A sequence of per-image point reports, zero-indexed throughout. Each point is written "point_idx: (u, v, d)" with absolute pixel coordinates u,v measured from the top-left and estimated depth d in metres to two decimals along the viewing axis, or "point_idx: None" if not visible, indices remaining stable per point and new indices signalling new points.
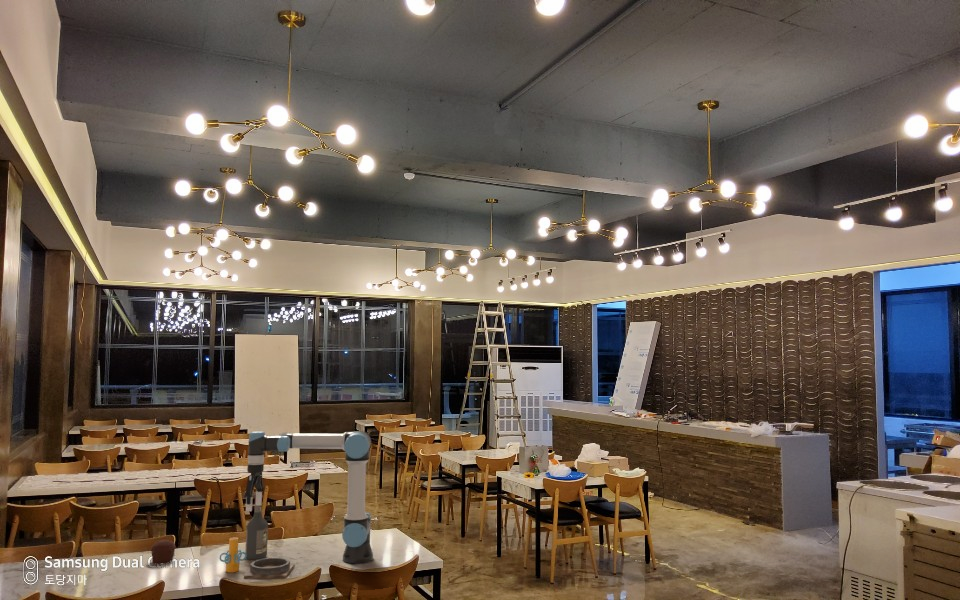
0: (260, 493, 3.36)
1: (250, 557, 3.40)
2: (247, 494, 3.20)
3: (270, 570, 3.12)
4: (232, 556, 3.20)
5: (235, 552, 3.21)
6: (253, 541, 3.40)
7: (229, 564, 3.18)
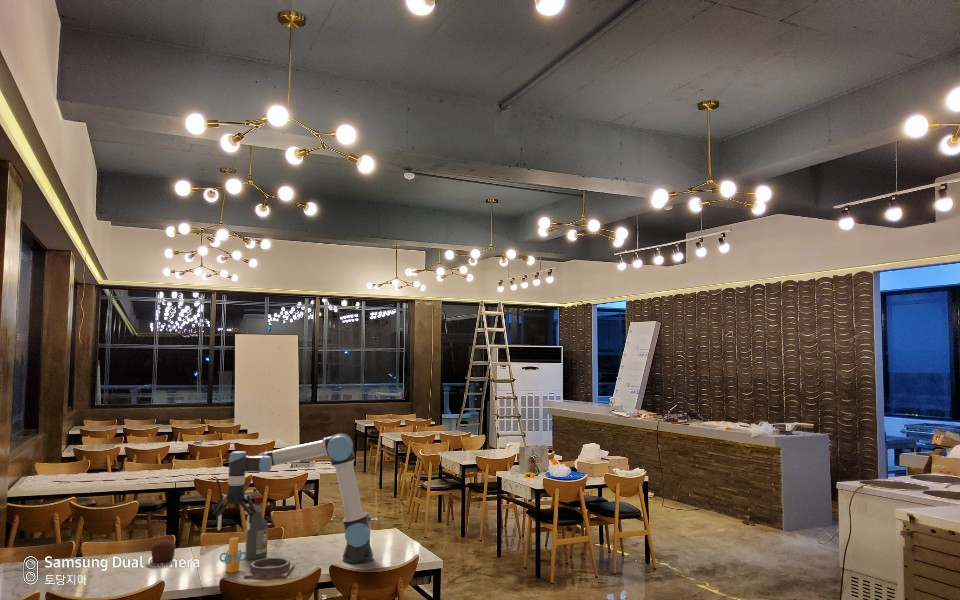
0: None
1: (250, 557, 3.40)
2: None
3: (270, 570, 3.12)
4: (232, 556, 3.20)
5: (235, 552, 3.21)
6: (253, 541, 3.40)
7: (229, 564, 3.18)
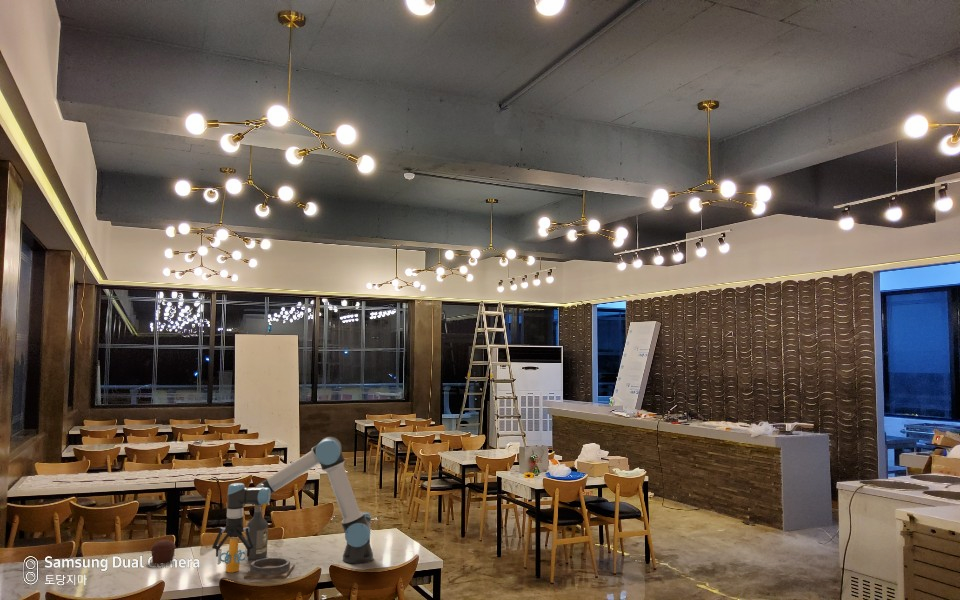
0: None
1: (250, 557, 3.40)
2: (213, 545, 3.21)
3: (270, 570, 3.12)
4: (232, 556, 3.20)
5: (235, 552, 3.21)
6: (253, 541, 3.40)
7: (229, 564, 3.18)
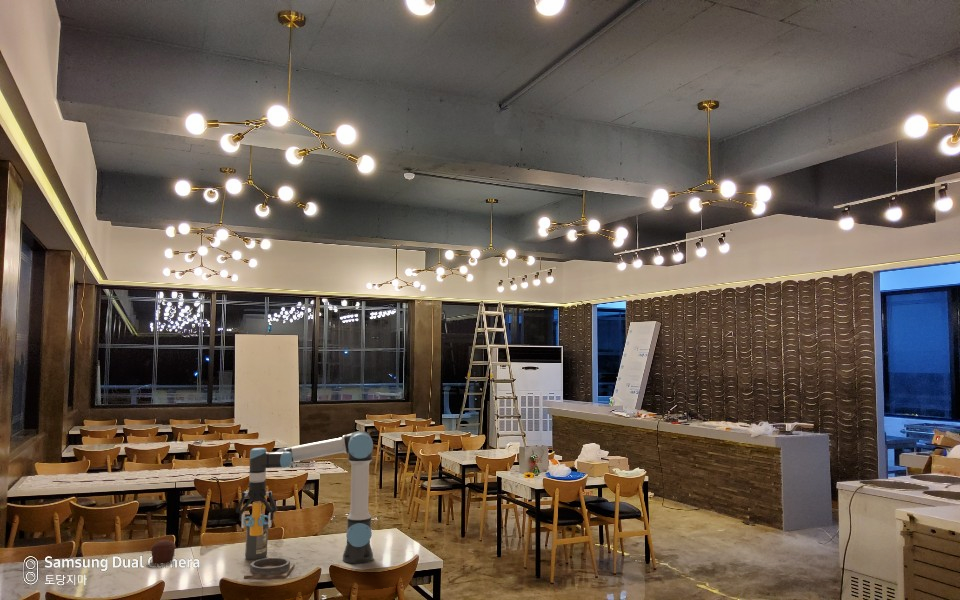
0: None
1: (250, 557, 3.40)
2: None
3: (270, 570, 3.12)
4: (255, 520, 3.21)
5: (258, 516, 3.22)
6: (253, 541, 3.40)
7: (253, 527, 3.20)
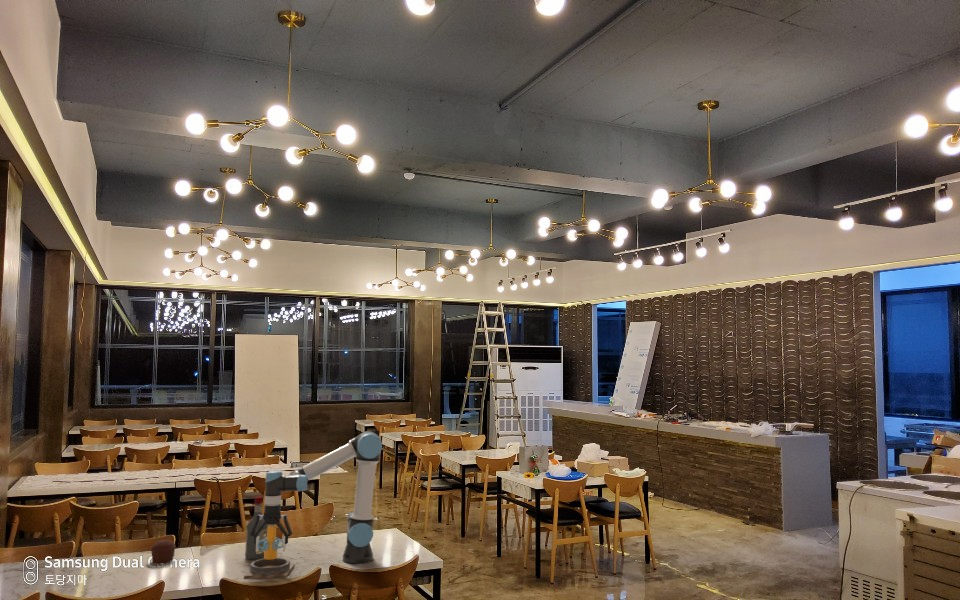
0: None
1: (250, 557, 3.40)
2: (251, 532, 3.21)
3: (270, 570, 3.12)
4: (270, 543, 3.19)
5: (273, 539, 3.20)
6: (253, 541, 3.40)
7: (267, 551, 3.18)
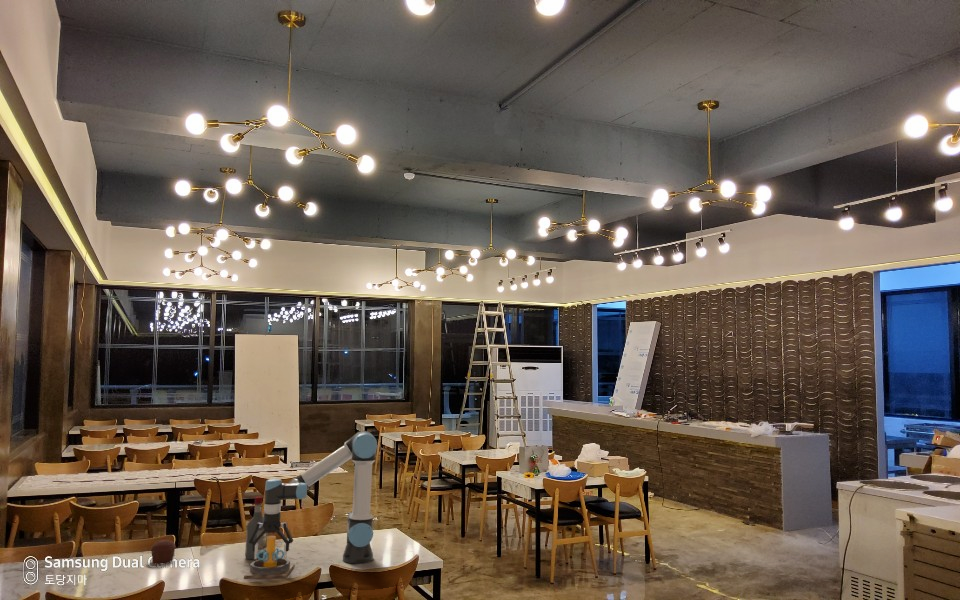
0: (284, 546, 3.21)
1: (250, 557, 3.40)
2: (250, 540, 3.21)
3: (270, 570, 3.12)
4: (270, 554, 3.19)
5: (273, 550, 3.20)
6: None
7: (267, 562, 3.18)
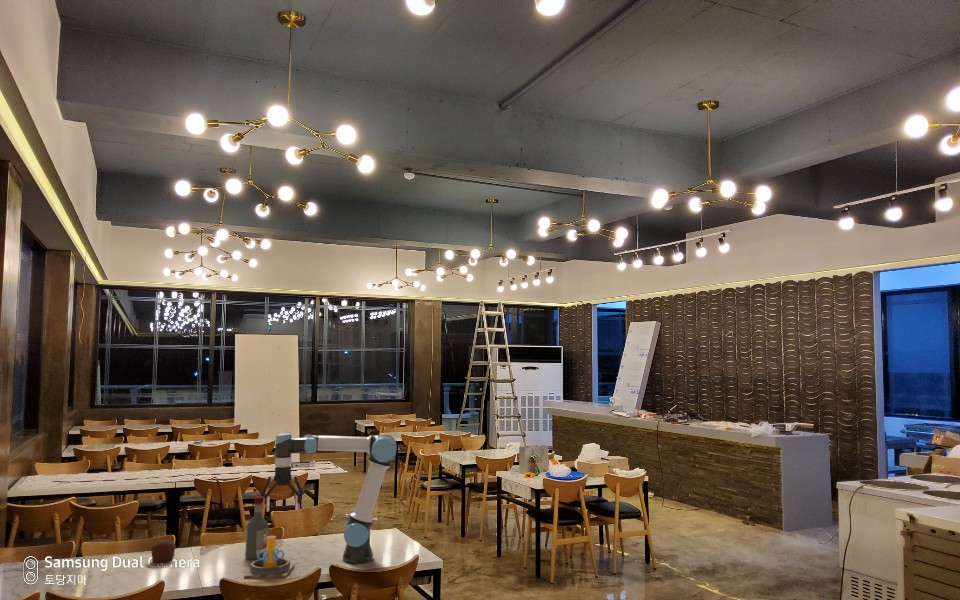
0: None
1: (250, 557, 3.40)
2: None
3: (270, 570, 3.12)
4: (270, 554, 3.19)
5: (273, 550, 3.20)
6: (253, 541, 3.40)
7: (267, 562, 3.18)
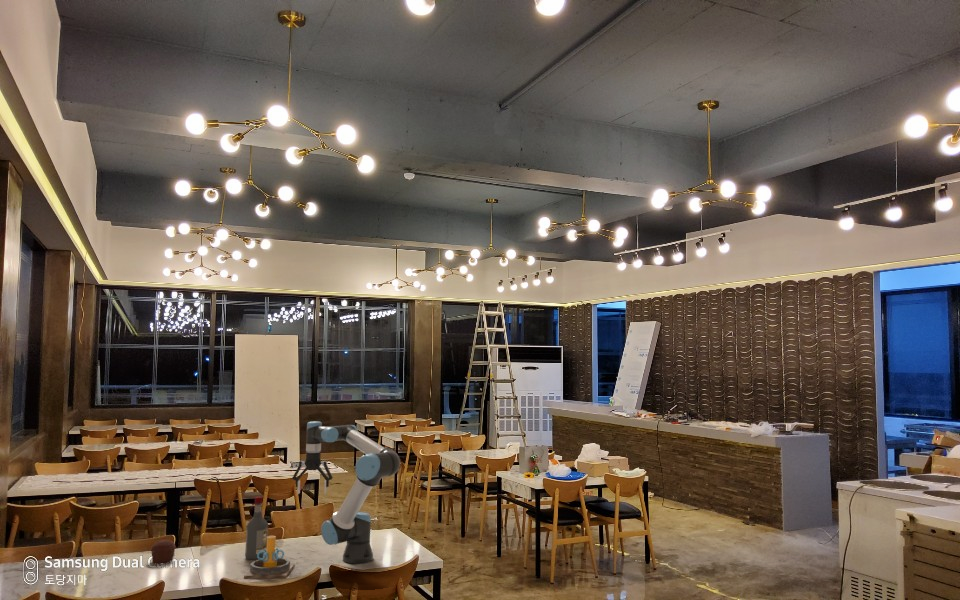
0: None
1: (250, 557, 3.40)
2: (293, 477, 3.49)
3: (270, 570, 3.12)
4: (270, 554, 3.19)
5: (273, 550, 3.20)
6: (253, 541, 3.40)
7: (267, 562, 3.18)
